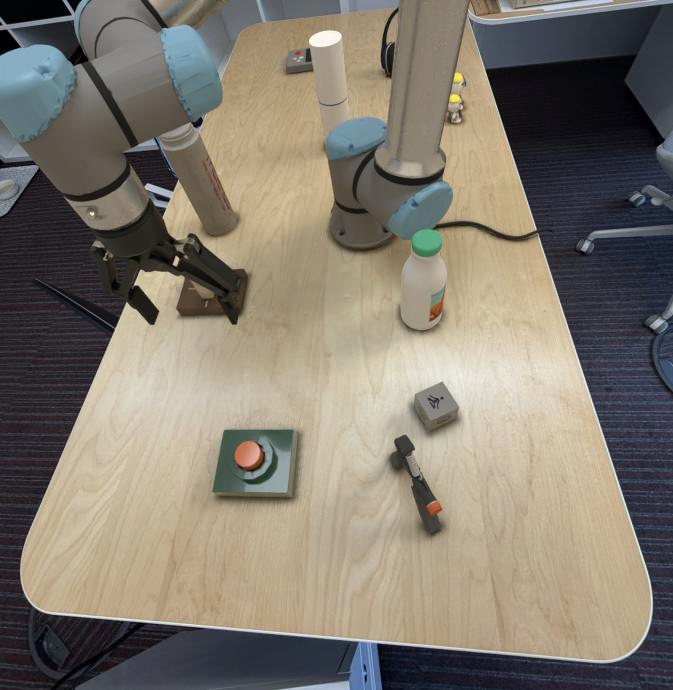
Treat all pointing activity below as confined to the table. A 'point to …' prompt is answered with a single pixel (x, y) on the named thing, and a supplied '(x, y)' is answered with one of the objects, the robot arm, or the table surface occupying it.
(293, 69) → the electronic device
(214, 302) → the panel
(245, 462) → the orange button cap
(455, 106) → the toy figures
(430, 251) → the milk bottle
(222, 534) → the table surface
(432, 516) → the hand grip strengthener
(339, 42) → the cylindrical container
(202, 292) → the knob
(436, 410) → the dice cube
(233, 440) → the button housing
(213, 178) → the thermos bottle
